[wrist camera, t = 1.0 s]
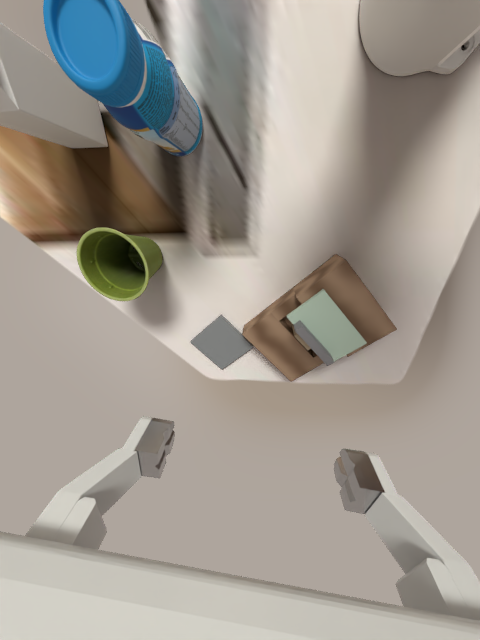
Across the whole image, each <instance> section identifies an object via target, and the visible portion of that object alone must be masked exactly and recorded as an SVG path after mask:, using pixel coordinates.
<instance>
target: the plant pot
mask: <svg viewBox="0 0 480 640" xmlns="http://www.w3.org/2000/svg"><path fill="white" fill-rule="evenodd" d="M133 246H134V247H135V249H134V250H133ZM162 260H163V258H162V254H161V250H160V248H159V246H158V245H157V244H156V243H155V242H154V241H153V240H151V239H149V238H146V237H140V236H132V235H125V234H123V233H121V232H119V231H117V230H114V229H110V228H95V229H92V230H90V231H88V232H86V233H85V234H84V235H83V236H82V237H81V239H80V241H79V243H78V246H77V261H78V264H79V267H80V270H81V272H82V274H83V276H84V277H85V279H86V280H87V282H88V283H89V284H90V285H91V286H92V287H93V288H94V289H95V290H96V291H97V292H99V293H100V294H102V295H103V296H105V297H107V298H110V299H113V300H117V301H130V300H133V299H136V298H137V297H139V296H140V295H141V294H142V293H143V292H144V291H145V289H146V287H147V284H148V281H149V279H150V278H151V277H152V276H153V275H154V273H155V272H156V271H157V270H158V269H159V268H160V266H161V264H162ZM137 262H138V263H139V264H141V266H143V268H142V267H140V266H139V265H138V264H137Z"/></svg>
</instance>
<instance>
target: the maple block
mask: <svg viewBox="0 0 480 640" xmlns="http://www.w3.org/2000/svg"><path fill="white" fill-rule="evenodd" d="M291 324H292V323H291ZM292 329H293V333H294V336H295V338H296V339H297V340H298V341H299V342H300V343H301V344H302V345H303V346H304V347H305V348H306V349H307V350H309V349H311V348H310V347H309V346H308V345H307V344H306V342H305V341H304V340H303V339H302V338H301V337H300V336H299V335H298V334H297V333H296V332H295V329H294V325H293V324H292Z"/></svg>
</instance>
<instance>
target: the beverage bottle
mask: <svg viewBox="0 0 480 640" xmlns="http://www.w3.org/2000/svg"><path fill="white" fill-rule="evenodd" d="M43 13H44V24H45V29H46V34H47V38H48V41H49V44H50V46H51V49H52V52H53V54H54V56H55V58H56V60H57V61H58V63H59V65H60V67H61V68H62V70H63V71H64V72H65V74H66V75H67V76H68V77H69V78H70V79H71V80H72V81H73V82H74V83H75V84H76V86H78V87H79V88H80V89H82V90H83V91H84V92H86V93H87V94H89V95H90V96H92V97H93V98H95V99H97V100H98V101H100V102H102V103H103V104H104V106H105V107H106V109H107V110H108V111H109V113H110V114H111V115H112V116H113V117H114V118H115V119H116V120H117V121H118V122H119V123H120V124H122V125H123V126H125V127H126V128H128V129H129V130H131V131H132V132H133V133H134V134H136V135H137V136H139V137H141V138H143V139H146V140H150V141H152V142H153V143H155V144H157V145H158V146H160V147H162V148H163V149H164V150H165V151H167V152H168V153H170V154H172V155H175V156H186V155H188V154H190V153H191V152H193V151H194V150H195V149H196V147H197V146H198V144H199V142H200V139H201V136H202V129H203V123H202V116H201V112H200V110H199V107H198V105H197V103H196V101H195V100H194V98H193V97H192V96H191V95H190V93H189V91H188V90H187V88H186V87H185V85H184V83H183V82H182V80H181V79H180V77H179V75H178V73H177V71H176V69H175V67H174V65H173V63H172V61H171V60H170V58H169V57H168V56H167V54H166V53H165V52H164V51H163V49H162V48H161V47H160V45H159V43H158V42H157V40H156V39H155V38H154V36H153V35H152V34H151V33H150V32H149V31H148V30H147V29H146V28H144V27H143V26H142V25H140V24H139V23H138V22H136V21H134V20H132V19H131V18H130V16H129V15H128V13H127V12H126V10H125V9H124V7H123V6H122V4H121V3H120V1H119V0H44V7H43Z"/></svg>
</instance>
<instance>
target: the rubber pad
mask: <svg viewBox="0 0 480 640" xmlns="http://www.w3.org/2000/svg"><path fill="white" fill-rule="evenodd" d="M191 343H192V344H193V345H194V346H195V347H196V348H198V349H199V350H200V351H201V352H202V353H203V354H205V355H206V356H207V357H208V358H209V359H210V360H211V361H213V362H214V363H215V364H216V365H217V366H218V367H220V368H221V369H223V368H225V367H226V366H228V365H229V364H230V363H232V362H233V361H235V360H236V359H237V358H239V357H240V356H242V355H243V354H244V353H246V352H247V351H249V350H250V349H252V348H253V345H252V344H251V343H250V342H249V341H248V340H247V339H246V338H245V337H244V336H243V335H242V334H241V333H240V332H239V331H238V330H237V329H236V328H235V327H234V326H233V325H232V324H231V323H230V322H229V321H228V320H226V319H225V318H224V317H223V316H222V315H220V316H219V317H218V318H217V319H216V320H215V321H213V322H212V323H211V324H210V325H209V326H208V327H206V328H205V329H204V330H203V331H202V332H201V333H199V334H198V335H197V336H196V337H195V338H194V339H192V340H191Z"/></svg>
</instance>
